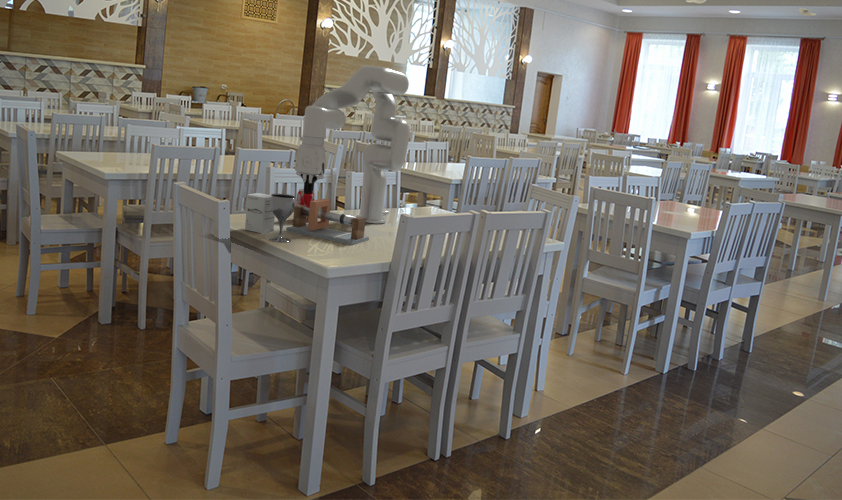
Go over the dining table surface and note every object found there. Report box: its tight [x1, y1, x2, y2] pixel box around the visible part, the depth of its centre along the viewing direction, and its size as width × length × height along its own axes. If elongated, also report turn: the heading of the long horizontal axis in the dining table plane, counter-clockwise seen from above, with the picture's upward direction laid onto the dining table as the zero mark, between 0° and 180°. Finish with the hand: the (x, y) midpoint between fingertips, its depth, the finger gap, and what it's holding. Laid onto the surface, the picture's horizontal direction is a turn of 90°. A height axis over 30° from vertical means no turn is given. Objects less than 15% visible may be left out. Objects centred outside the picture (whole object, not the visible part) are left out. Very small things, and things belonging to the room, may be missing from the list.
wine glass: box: [268, 193, 297, 244], centre depth 222 cm, size 8×8×15 cm
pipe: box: [301, 207, 356, 226], centre depth 238 cm, size 24×4×4 cm, turn 67°
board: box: [285, 223, 370, 246], centre depth 239 cm, size 27×12×1 cm, turn 67°
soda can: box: [295, 188, 316, 223], centre depth 260 cm, size 7×7×12 cm
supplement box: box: [244, 192, 275, 235], centre depth 233 cm, size 7×7×13 cm
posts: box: [292, 205, 366, 240], centre depth 239 cm, size 26×5×8 cm, turn 67°
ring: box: [307, 198, 332, 230], centre depth 240 cm, size 2×10×10 cm, turn 157°
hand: (308, 193), depth 239 cm, fingers closed
